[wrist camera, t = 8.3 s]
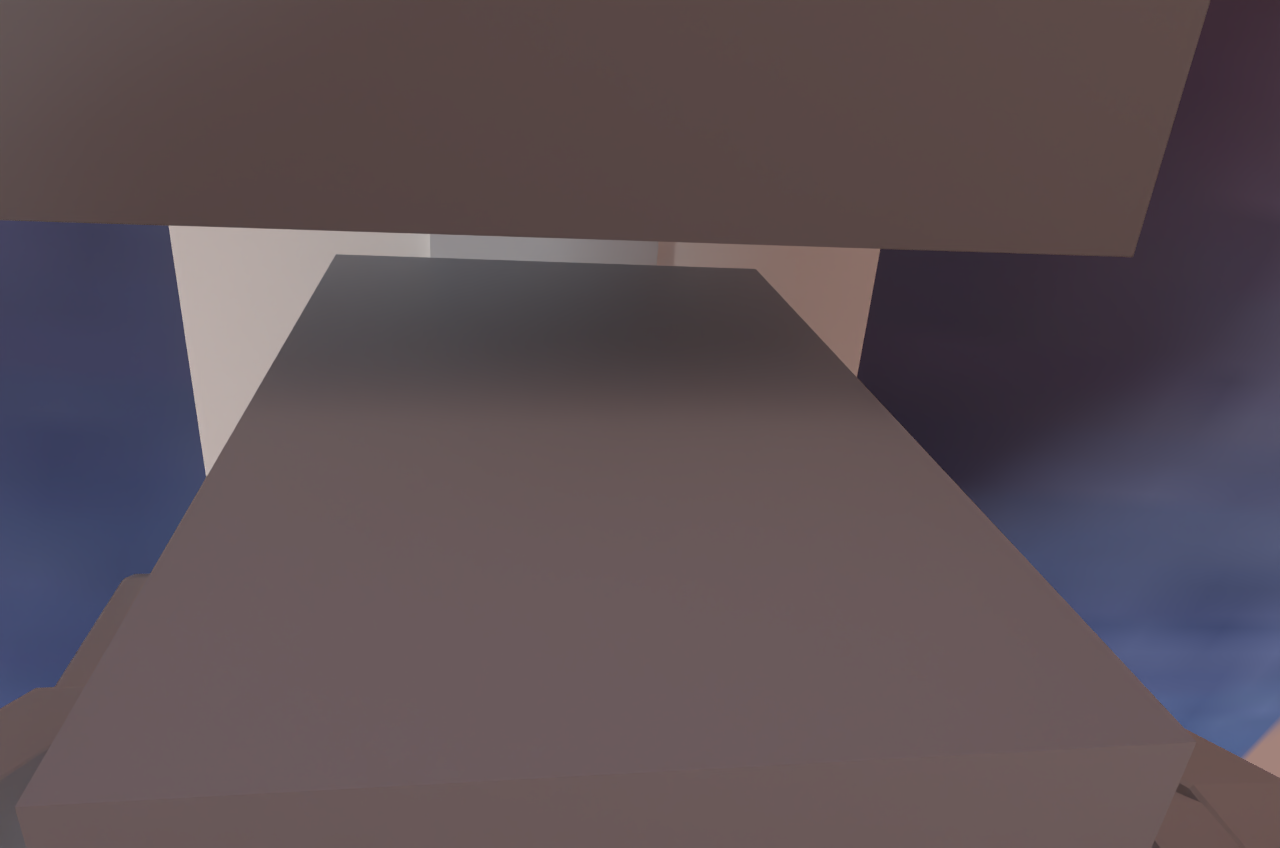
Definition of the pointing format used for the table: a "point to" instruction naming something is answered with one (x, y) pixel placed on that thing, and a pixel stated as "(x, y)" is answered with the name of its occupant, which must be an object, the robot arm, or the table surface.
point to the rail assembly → (581, 140)
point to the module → (591, 601)
